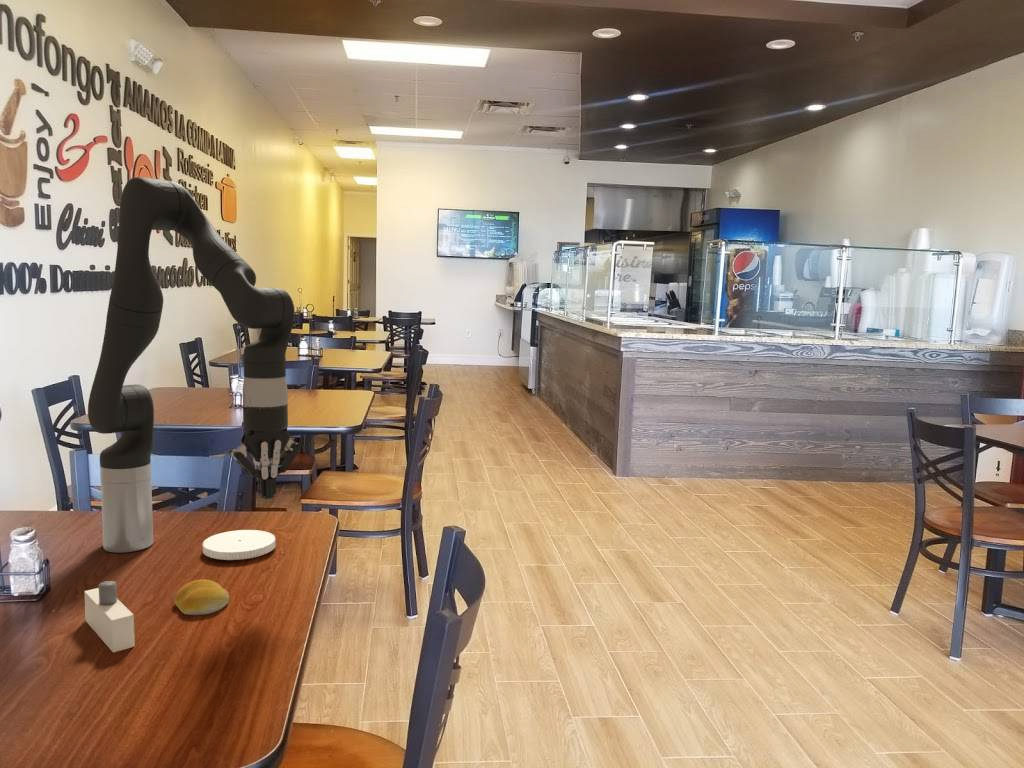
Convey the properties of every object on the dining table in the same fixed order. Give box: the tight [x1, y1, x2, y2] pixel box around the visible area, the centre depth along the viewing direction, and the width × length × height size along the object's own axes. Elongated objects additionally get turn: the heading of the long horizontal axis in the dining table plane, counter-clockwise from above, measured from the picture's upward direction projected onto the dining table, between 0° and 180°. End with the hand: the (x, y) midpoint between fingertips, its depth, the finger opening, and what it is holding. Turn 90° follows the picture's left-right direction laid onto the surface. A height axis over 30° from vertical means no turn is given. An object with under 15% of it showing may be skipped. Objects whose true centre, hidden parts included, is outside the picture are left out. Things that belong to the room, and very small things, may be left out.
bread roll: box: [174, 578, 230, 616], centre depth 129 cm, size 8×9×4 cm
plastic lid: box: [202, 529, 276, 561], centre depth 155 cm, size 14×14×2 cm
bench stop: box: [83, 580, 136, 653], centre depth 118 cm, size 14×3×8 cm, turn 44°
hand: (266, 497), depth 136 cm, fingers closed
